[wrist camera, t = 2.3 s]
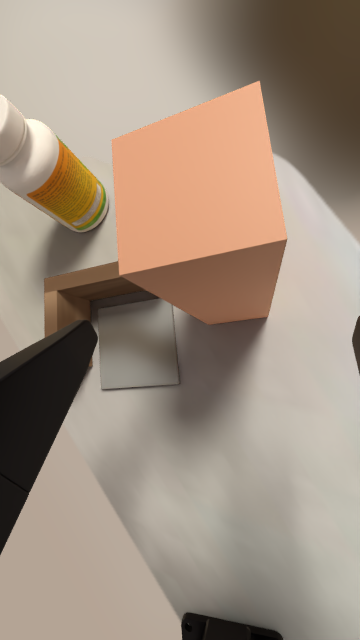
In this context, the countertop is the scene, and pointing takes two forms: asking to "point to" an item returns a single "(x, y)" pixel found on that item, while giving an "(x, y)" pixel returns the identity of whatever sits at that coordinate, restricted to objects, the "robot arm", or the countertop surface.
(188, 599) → the countertop surface
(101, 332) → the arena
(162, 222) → the terracotta block
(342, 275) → the countertop surface
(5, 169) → the supplement bottle
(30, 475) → the robot arm
